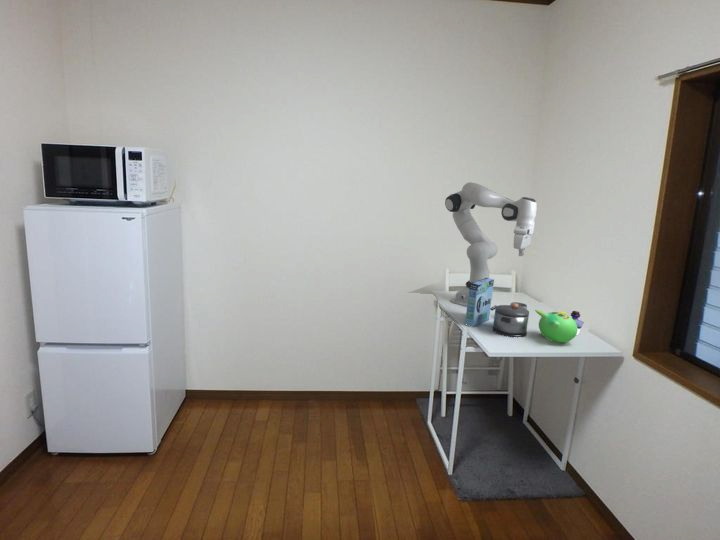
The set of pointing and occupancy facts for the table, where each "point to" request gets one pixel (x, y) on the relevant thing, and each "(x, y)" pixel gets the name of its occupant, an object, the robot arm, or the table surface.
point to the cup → (520, 305)
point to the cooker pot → (510, 325)
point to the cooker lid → (511, 310)
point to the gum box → (479, 301)
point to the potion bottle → (575, 317)
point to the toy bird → (557, 326)
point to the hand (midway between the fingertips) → (521, 256)
